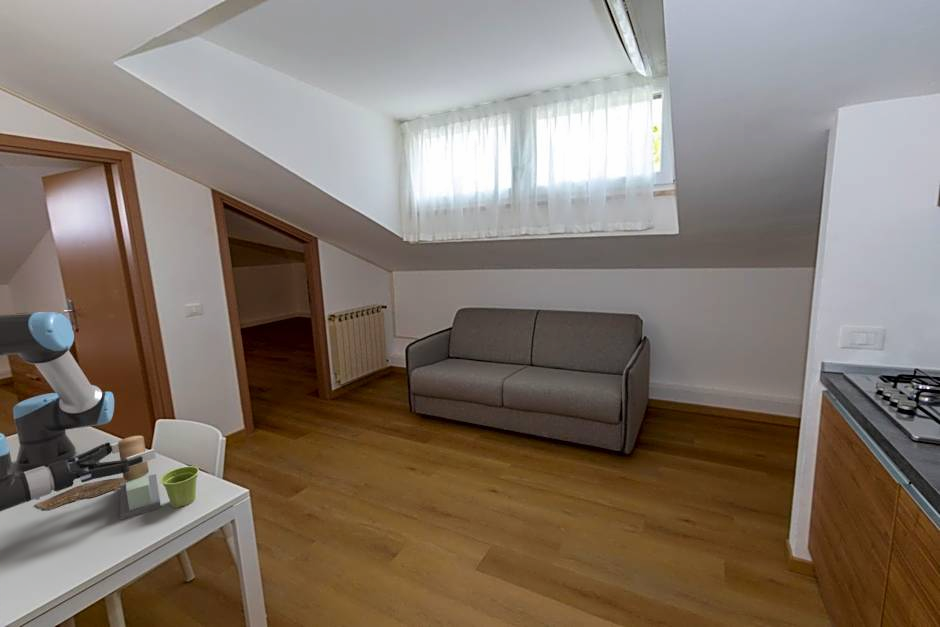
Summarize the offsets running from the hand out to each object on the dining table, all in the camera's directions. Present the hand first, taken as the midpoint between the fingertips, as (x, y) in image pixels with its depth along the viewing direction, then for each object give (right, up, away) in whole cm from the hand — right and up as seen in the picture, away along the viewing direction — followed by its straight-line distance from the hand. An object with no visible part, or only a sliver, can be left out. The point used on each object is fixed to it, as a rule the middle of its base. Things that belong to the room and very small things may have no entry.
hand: (146, 446), depth 129 cm
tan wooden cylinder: (-2, -8, -1) cm, 8 cm away
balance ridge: (-2, -15, 0) cm, 15 cm away
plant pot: (+13, -16, -2) cm, 20 cm away
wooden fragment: (-20, -15, +4) cm, 26 cm away
